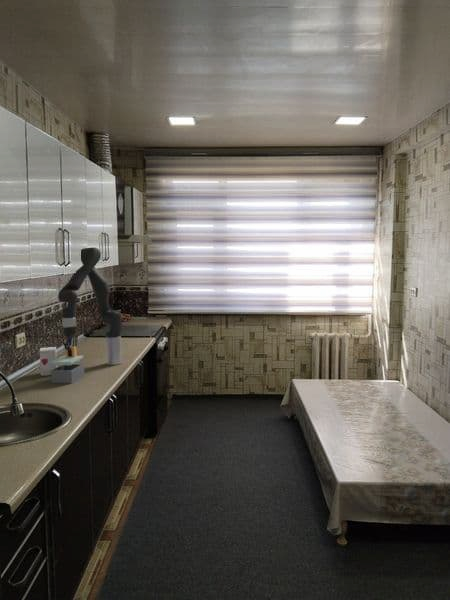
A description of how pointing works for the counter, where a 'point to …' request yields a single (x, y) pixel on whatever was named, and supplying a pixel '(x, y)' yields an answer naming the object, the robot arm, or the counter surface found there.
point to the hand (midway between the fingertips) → (71, 355)
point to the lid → (68, 358)
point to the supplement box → (47, 360)
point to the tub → (67, 373)
